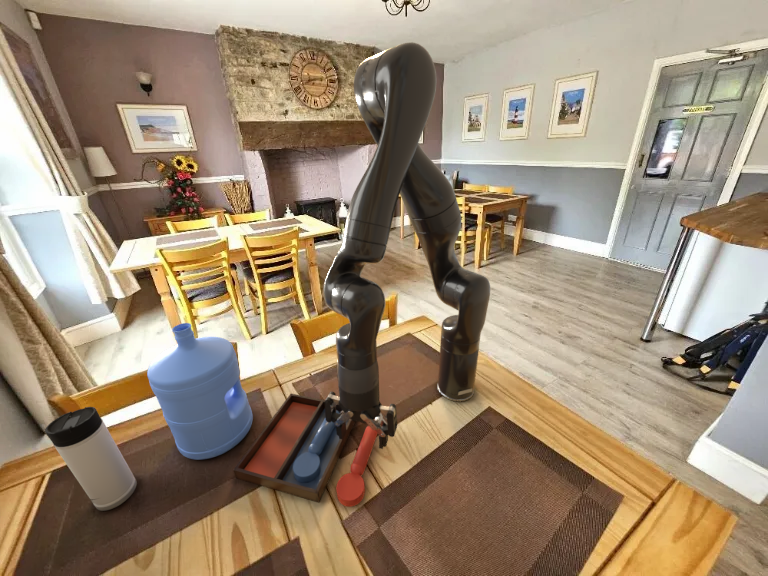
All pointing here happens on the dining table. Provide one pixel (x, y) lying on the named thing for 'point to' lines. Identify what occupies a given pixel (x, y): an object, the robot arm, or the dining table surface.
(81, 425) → the travel mug
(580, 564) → the dining table surface
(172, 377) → the water jug
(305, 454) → the blue round-ended rod
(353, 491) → the red disc-ended rod
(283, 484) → the sorting tray
